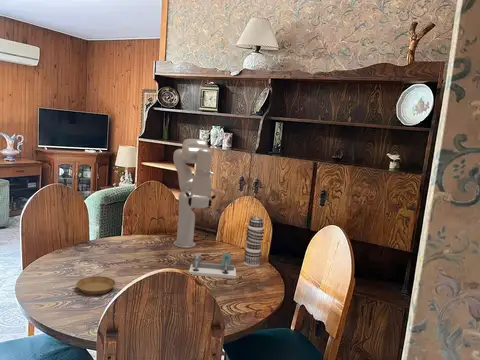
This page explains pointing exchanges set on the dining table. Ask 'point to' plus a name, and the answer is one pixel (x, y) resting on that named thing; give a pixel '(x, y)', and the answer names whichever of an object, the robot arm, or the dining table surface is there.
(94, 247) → the dining table surface
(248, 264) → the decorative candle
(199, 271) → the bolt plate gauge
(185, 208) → the robot arm
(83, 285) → the plant saucer
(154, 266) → the dining table surface
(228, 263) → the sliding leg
